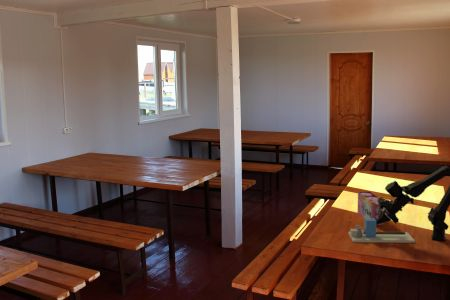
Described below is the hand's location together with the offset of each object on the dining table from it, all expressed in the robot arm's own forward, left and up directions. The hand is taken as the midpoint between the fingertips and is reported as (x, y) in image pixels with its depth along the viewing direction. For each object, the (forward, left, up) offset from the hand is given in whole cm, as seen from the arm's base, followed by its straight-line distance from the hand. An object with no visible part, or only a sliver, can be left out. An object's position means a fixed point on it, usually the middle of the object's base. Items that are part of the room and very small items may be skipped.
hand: (375, 223), depth 240 cm
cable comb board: (-1, +3, -8) cm, 8 cm away
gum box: (-32, -6, -8) cm, 33 cm away
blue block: (+1, -3, -6) cm, 7 cm away
